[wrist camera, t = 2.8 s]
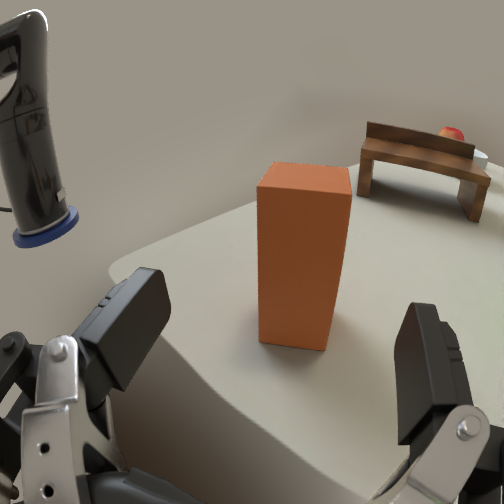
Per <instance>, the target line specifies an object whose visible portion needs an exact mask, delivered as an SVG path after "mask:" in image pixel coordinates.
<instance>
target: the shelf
mask: <svg viewBox="0 0 504 504" xmlns="http://www.w3.org/2000/svg"><path fill="white" fill-rule="evenodd" d="M375 138H376V139H375ZM386 140H387V141H386ZM392 141H393V142H392ZM397 142H398V143H397ZM402 143H403V144H402ZM407 144H408V145H407ZM412 145H413V146H412ZM421 147H422V148H421ZM426 148H427V149H426ZM430 149H431V150H430ZM474 150H475V145H474V144H471V143H467V142H464V141H460V140H456V139H453V138H449V137H445V136H441V135H437V134H432V133H428V132H423V131H419V130H414V129H409V128H404V127H399V126H394V125H388V124H382V123H376V122H370V121H368V122H367V133H366V139H365V141H364V143H363V146H362V148H361V156H360V157H361V159H360V169H359V178H358V187H357V195H358V196H363V197H369V192H370V187H371V182H372V175H373V166H374V160H377V161H383V162H388V163H393V164H398V165H403V166H408V167H413V168H418V169H422V170H426V171H431V172H435V173H439V174H443V175H447V176H451V177H455V178H459V179H461V181H460V186H459V191H458V195H457V198H458V200H459V202H460V204H461V206H462V207H463V209H464V211H465V213H466V215H467V217H468V219H469V220H470V221H474V222H478V223H479V220H480V216H481V212H482V209H483V205H484V201H485V197H486V193H487V189H488V187H489V185H490V180H491V178H490V177H489V176H488V175H487V174H486V173H485V172H484V171H483V170H482V169H481V168H480V167H479V166H478V165H477V164H476V163H475V162H474V161H473V156H474ZM458 156H459V157H458ZM462 157H463V158H462ZM469 159H470V160H469Z"/></svg>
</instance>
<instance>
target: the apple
mask: <svg viewBox="0 0 504 504" xmlns="http://www.w3.org/2000/svg"><path fill="white" fill-rule="evenodd" d="M439 135H441V136H445V137H449V138H453V139H456V140H460V141H464V136H463V134H462V132H461V131H459V130H458V129H455V128H450V127H445V128H442V129H441V131H440V132H439Z"/></svg>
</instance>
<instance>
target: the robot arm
mask: <svg viewBox="0 0 504 504" xmlns="http://www.w3.org/2000/svg"><path fill="white" fill-rule="evenodd" d="M16 73H17V76H16V79H15V82H14V84H13V85H12V87H11V88H10V90H9V91H8V92H7V93H6V94H5V95H4V97H3V98H2V99H0V166H1V171H2V175H3V179H4V183H5V187H6V191H7V194H8V198H9V202H10V205H11V208H2V207H0V211H4V212H13V215H14V218H15V221H16V224H17V227H18V228H17V229H18V232H19V234H20V235H21V236H23V237H30V236H35V235H39V234H42V233H44V232H47V231H49V230H51V229H53V228H55V227H57V226H58V225H60V224H61V223H62V222H64V221H65V220H66V219H67V218H68V217H69V215H70V210H69V207H68V205H67V201H66V197H65V195H66V193H65V188H64V187H63V185H62V180H61V176H60V171H59V167H58V162H57V157H56V151H55V146H54V140H53V134H52V128H51V121H50V114H49V107H48V106H49V105H48V26H47V21H46V18H45V16H44V14H43V13H42V12H41V11H39V10H31V11H28V12H25V13H23V14H20V15H19V16H16V17H14V18H12V19H9V20H8V21H5V22H3V23H1V24H0V80H2V79H5V78H7V77H9V76H11V75H14V74H16ZM170 314H171V303H170V299H169V295H168V291H167V287H166V283H165V278H164V274H163V272H162V271H161V270H157V269H151V268H144V267H140V268H138V269H137V270H136V271H135V272H134V273H133V274H132V275H131V276H130V278H129V279H125V280H124V281H122V282H121V283H119V284H117V285H116V286H114V287H113V288H112V289H111V290H110V292H109V293H108V294H107V295H106V296H105V299H102V300H101V302H100V303H99V304H98V307H97V306H96V307H95V308H94V309H93V311H92V312H91V313H90V314H89V315H88V316H87V318H86V319H85V320H84V321H83V322H82V323H81V325H80V326H79V327H78V328H77V329H76V330H75V332H74V333H73V334H72V335H71V336H68V335H60V336H56V337H54V338H52V339H50V340H49V341H48V342H47V343H46V344H45V345H32V344H29V343H28V341H27V340H26V338H25V336H24V335H23V334H22V333H20V332H11V333H8V334H6V335H5V336H4V337H2V338H1V339H0V403H1V401H2V400H3V398H4V397H5V395H6V394H7V392H8V391H9V389H10V388H11V386H12V385H13V383H14V382H15V383H16V384H17V385H18V386H19V388H20V389H21V390H22V393H21V394H20V396H19V397H18V399H17V400H16V402H15V404H14V405H13V407H12V408H11V410H10V411H9V413H8V415H7V416H6V417H5V418H3V419H2V418H1V417H0V504H10V499H13V500H16V499H17V498H18V497H19V491H18V488H17V487H15V486H14V485H13V482H14V480H15V478H16V476H17V474H18V472H19V471H20V469H22V485H23V496H24V501H21V502H18V503H14V504H206V503H204V502H202V501H201V500H199V499H197V498H195V497H194V496H192V495H190V494H188V493H187V492H185V491H184V490H182V489H181V488H179V487H177V486H176V485H174V484H173V483H171V482H170V481H168V480H165V479H163V478H160V477H157V476H154V475H152V474H150V473H148V472H145V471H143V470H140V469H138V468H136V467H134V466H132V467H131V469H130V471H129V470H128V466H127V463H126V461H125V458H124V456H123V454H122V452H121V451H120V449H119V446H118V443H117V438H116V433H115V427H114V421H113V414H112V407H111V399H110V396H109V394H108V392H109V391H110V389H111V388H112V387H113V388H115V389H118V390H120V391H123V392H124V391H125V389H126V387H127V386H128V385H129V383H130V381H131V380H132V378H133V376H134V375H135V373H136V371H137V370H138V368H139V367H140V365H141V363H142V362H143V360H144V359H145V357H146V355H147V354H148V352H149V351H150V349H151V348H152V346H153V344H154V342H155V341H156V339H157V338H158V336H159V335H160V333H161V332H162V330H163V329H164V327H165V325H166V324H167V322H168V320H169V318H170ZM459 348H460V347H459V344H458V340H457V337H456V334H455V332H454V331H453V330H452V328H451V327H450V326H449V324H448V323H447V322H441V321H440V319H439V316H438V313H437V309H436V307H435V305H434V304H426V303H414V302H412V303H411V304H410V305H409V307H408V310H407V312H406V315H405V317H404V320H403V323H402V325H401V328H400V330H399V333H398V335H397V338H396V341H395V347H394V361H395V373H396V388H397V410H398V445H410V454H409V455H408V456H407V457H406V459H405V460H404V461H403V462H402V464H401V465H400V466H399V467H398V468H397V470H396V471H395V472H394V473H393V474H392V476H391V477H390V478H389V479H388V480H387V481H386V483H385V484H384V485H383V486H382V487H381V488H380V489H379V490H378V491H377V492H376V494H375V495H374V496H373V497H372V498H371V499H370V500H369V501H368V502H367V503H366V504H453V503H454V501H455V499H456V498H457V496H458V494H459V498H458V504H501V486H502V504H504V428H501V427H497V426H493V425H490V424H489V420H488V418H487V416H486V415H485V414H484V413H483V411H482V410H480V409H479V408H477V407H475V406H474V405H473V401H472V396H471V391H470V387H469V382H468V378H467V374H466V370H465V366H464V362H462V360H463V358H462V354H461V351H460V350H459Z"/></svg>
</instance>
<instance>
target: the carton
mask: <svg viewBox="0 0 504 504" xmlns="http://www.w3.org/2000/svg"><path fill="white" fill-rule="evenodd" d="M351 202H352V190H351V184H350V178H349V172H348V168H341V167H332V166H321V165H310V164H297V163H283V162H273V164H272V165H271V167H270V168H269V169H268V171H267V173H266V174H265V175H264V177H263V178H262V179H261V181H260V182H259V184H258V185H257V240H258V313H259V342H264V343H271V344H277V345H284V346H291V347H298V348H305V349H313V350H321V351H325V349H326V345H327V340H328V336H329V331H330V327H331V322H332V317H333V313H334V308H335V303H336V297H337V292H338V287H339V281H340V276H341V270H342V264H343V258H344V252H345V246H346V239H347V232H348V225H349V218H350V210H351Z"/></svg>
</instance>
